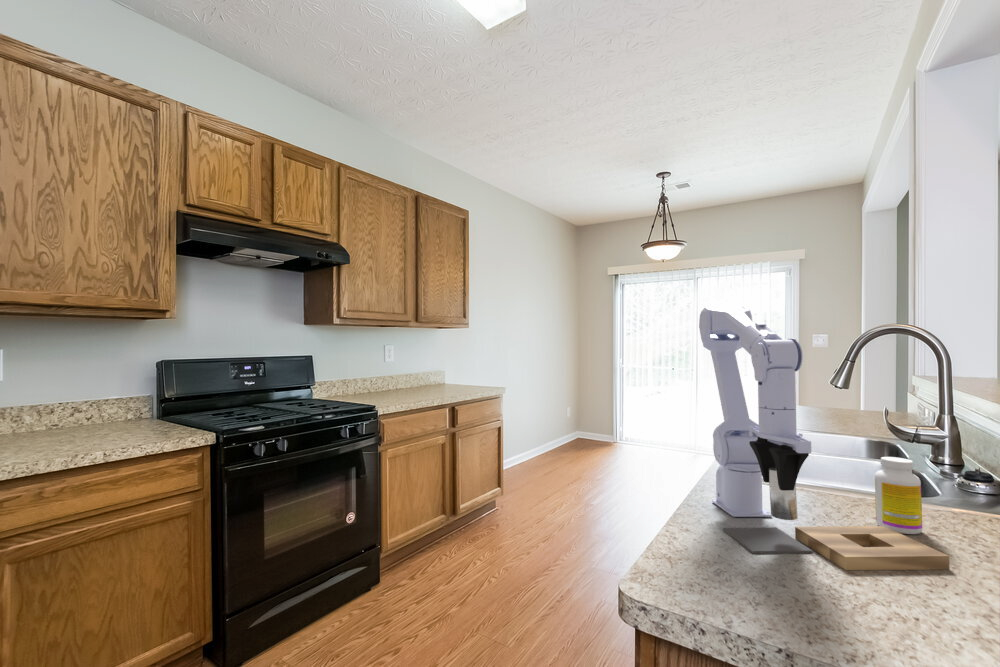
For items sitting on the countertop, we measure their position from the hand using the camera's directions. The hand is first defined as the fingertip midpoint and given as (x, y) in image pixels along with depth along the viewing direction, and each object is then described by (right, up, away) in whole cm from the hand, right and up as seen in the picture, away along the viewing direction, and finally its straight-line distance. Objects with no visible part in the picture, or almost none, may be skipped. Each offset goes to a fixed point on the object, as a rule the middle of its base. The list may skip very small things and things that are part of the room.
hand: (778, 485), depth 82 cm
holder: (+12, -10, -4) cm, 16 cm away
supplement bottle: (+26, -10, +6) cm, 28 cm away
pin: (+1, -5, 0) cm, 5 cm away
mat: (-2, -10, 0) cm, 10 cm away
